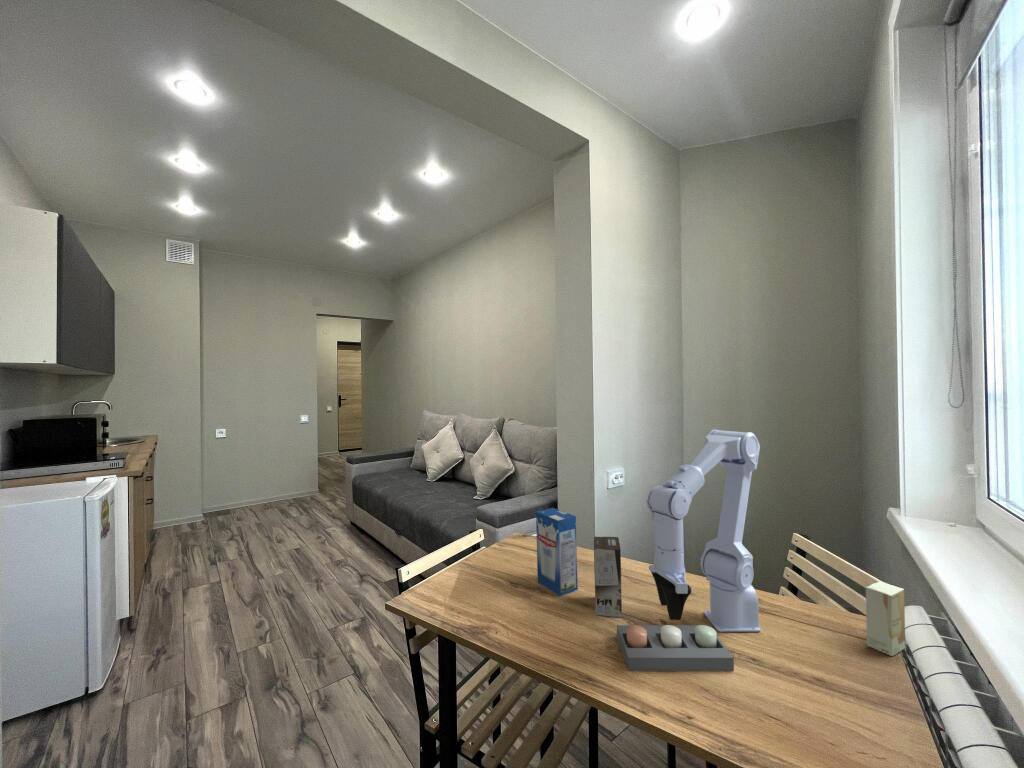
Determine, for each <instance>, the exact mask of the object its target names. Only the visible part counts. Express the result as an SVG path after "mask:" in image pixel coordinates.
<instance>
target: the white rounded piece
mask: <svg viewBox="0 0 1024 768" xmlns="http://www.w3.org/2000/svg"><path fill="white" fill-rule="evenodd" d="M664 625H665V626H662V627H661V645H662V647H663V648H682V637H681V630H680V629H679V628H677V627H675V626H671V625H672V624H670V625H669V624H664Z"/></svg>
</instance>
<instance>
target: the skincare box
mask: <svg viewBox="0 0 1024 768" xmlns="http://www.w3.org/2000/svg"><path fill="white" fill-rule="evenodd" d="M865 606H866V607H865V608H866V609H865V610H866V612H865V613H866V615H865V616H866V646H867V647H870V648H873V649H874V650H877V651H879V652H881V653H884V654H885V653H886V655H889V656H890V657H893V656H895V655H897V654H899V653H900V652H902V651H904V649H906V623H905V622H906V618H905V614H906V613H905V589H904V588H902V587H898V586H896V585H892V584H889V583H887V582H883V581H879V580H878V581H877V582H874V583H872V584H870V585H868V586H865ZM898 652H899V653H898Z"/></svg>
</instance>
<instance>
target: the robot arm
mask: <svg viewBox="0 0 1024 768" xmlns="http://www.w3.org/2000/svg"><path fill="white" fill-rule="evenodd" d="M760 450H761V445H760V442H759V440H758V438H757V436H756V435H755V433H753V432H750V431H748V432H743V431H741V432H740V431H729V430H720V429H714V428H713V429H711V430H710V431H709V432H708V434H707V435H705V438H704V447H703V448H702V449H701V450H700V452H699V453H698V454H697V455H696V456H695V458H694V459H693V461H692V462H691V463H690V464H681V465H679V467H678V469H677V470H676V471H675V472H673V474H672V475H671V476H670V477H669V478H668V479H667V480H666V481H665V482H664V483H663V484H662V485H656V486H655V487H652V489H651V490H650V491H649V493H648V496H647V499H646V505H647V508H648V510H649V512H650V519H651V520H652V521H653V550H654V553H653V559H654V561H653V564H651V565H648V570H649V571H650V572H651V575H652V577H653V579H654V582H655V586H656V589H657V595H658V600H659V603H660V605H661V606H666V610H667V615H668V618H669V620H670V621H681V620H682V616H683V613H684V608H685V604H686V603H687V601H688V600H687V599H688V598H689V596H690V595H691V593H692V587H691V586H690V585H689V584H688V582H687V580H686V567H685V547H684V545H685V544H684V517H685V516H687V514H688V513H689V509H690V505H691V503H692V500H693V499H692V498H694V496H695V495H696V493H698V492H699V490H700V489H701V488H702V487H703V486H704V485H705V482H706V479H705V476H706V475H707V474H708V473H709V472H710V471H711V470H712V469H713V468H715V466H716V465H718V464H719V465H721V466H722V467H724V469H725V471H726V476H725V481H724V483H725V484H724V490H723V496H722V502H721V503H722V504H721V509H720V516H719V520H718V521H719V523H718V528H717V535H716V536H717V537H715V538H714V539H711V540H709V541H707V542H706V543H705V547H704V551H703V553H702V555H701V557H700V564H699V565H700V569H701V571H702V573H703V574H704V575H705V576H706V578H705V579H706V581H708V582H709V610H703V615H705V617H706V618H707V620H708V621H709V622H710V623H711V625H712V626H713V627H714V628H715V631H716V632H717V631H718V632H719V633H721V632H723V633H724V632H725V633H726V632H730V633H731V632H733V633H735V632H745V633H746V632H747V633H749V632H759V633H760V632H761V629H762V628H760V622H759V621H760V619H759V599H758V594H757V592H756V589H755V588H754V586H753V585H752V582H753V581H754V574H755V573H754V568H753V563H754V561H753V560H754V556H753V554H751V552H750V550H748V549H747V548H746V547H745V546H744V545H743V538H744V537H743V536H744V531H745V524H746V523H745V522H746V517H747V509H748V503H749V494H750V488H751V481H752V474H753V472H754V471H756V470H757V468H758V463H759V455H760Z"/></svg>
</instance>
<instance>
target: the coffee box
mask: <svg viewBox="0 0 1024 768" xmlns="http://www.w3.org/2000/svg"><path fill="white" fill-rule="evenodd" d="M593 539H594V540H593V562H594V564H593V565H594V566H593V567H594V568H593V569H594V571H593V572H594V595H595V596H594V598H595V615H596V616H605V617H615V618H622V617H623V615H622V614H623V613H622V612H623V611H622V607H623V605H622V604H623V603H622V561H621V560H622V558H621V553H622V552H621V545H620V539H619V537H618V536H593Z"/></svg>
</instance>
